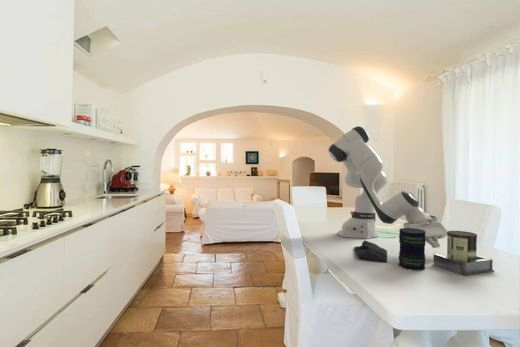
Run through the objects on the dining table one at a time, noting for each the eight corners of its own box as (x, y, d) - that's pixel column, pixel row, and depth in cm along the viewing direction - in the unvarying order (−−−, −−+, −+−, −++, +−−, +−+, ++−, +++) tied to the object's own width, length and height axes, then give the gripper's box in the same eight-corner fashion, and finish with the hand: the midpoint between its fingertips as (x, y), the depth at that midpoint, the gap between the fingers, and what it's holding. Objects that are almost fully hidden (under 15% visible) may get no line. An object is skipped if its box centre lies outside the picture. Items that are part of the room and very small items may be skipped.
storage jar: (424, 272, 120) (424, 234, 119) (396, 267, 125) (397, 231, 125) (426, 265, 128) (426, 229, 128) (400, 261, 133) (401, 227, 133)
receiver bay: (433, 264, 129) (433, 254, 129) (461, 261, 134) (461, 250, 134) (464, 275, 116) (465, 264, 116) (494, 271, 121) (494, 260, 121)
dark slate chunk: (351, 260, 136) (351, 249, 136) (354, 248, 157) (354, 238, 156) (388, 264, 131) (389, 253, 130) (387, 251, 151) (387, 241, 151)
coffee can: (470, 264, 130) (470, 231, 129) (481, 272, 120) (482, 236, 119) (442, 262, 132) (443, 229, 132) (451, 270, 122) (452, 235, 122)
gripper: (405, 218, 141) (423, 245, 132) (439, 216, 147) (458, 241, 138) (398, 226, 145) (414, 253, 136) (431, 223, 152) (448, 248, 143)
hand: (436, 247), depth 137 cm, fingers closed
